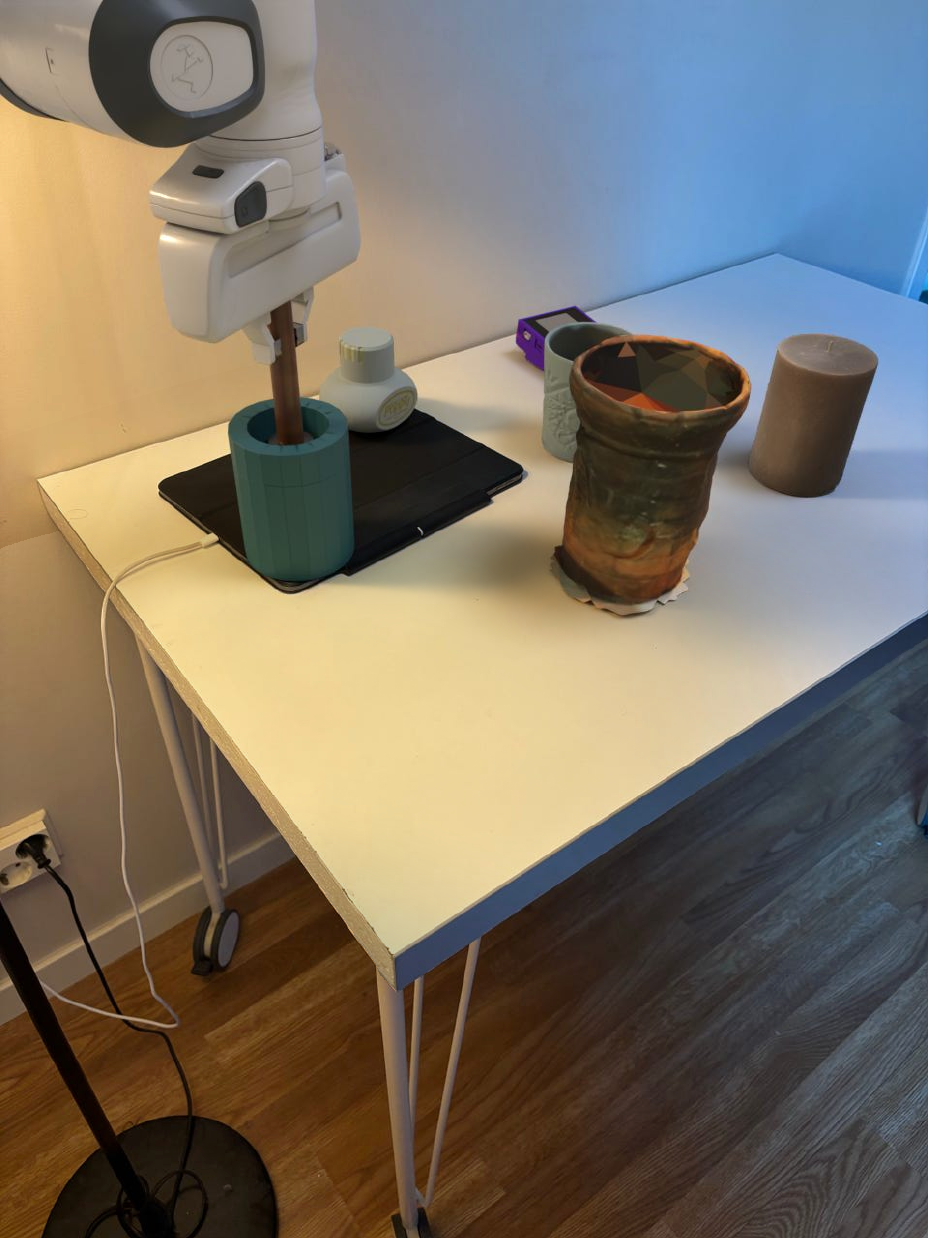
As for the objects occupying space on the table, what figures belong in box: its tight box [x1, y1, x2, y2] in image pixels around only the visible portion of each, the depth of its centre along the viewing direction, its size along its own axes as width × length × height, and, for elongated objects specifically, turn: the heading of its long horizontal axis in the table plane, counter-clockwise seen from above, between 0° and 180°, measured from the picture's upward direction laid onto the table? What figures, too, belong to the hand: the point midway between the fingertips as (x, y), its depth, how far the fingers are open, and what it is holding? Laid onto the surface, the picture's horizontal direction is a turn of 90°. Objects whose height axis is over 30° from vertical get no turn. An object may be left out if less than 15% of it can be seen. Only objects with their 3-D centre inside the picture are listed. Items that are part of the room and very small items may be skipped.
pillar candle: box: [747, 332, 879, 498], centre depth 97 cm, size 10×10×15 cm
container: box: [227, 396, 355, 582], centre depth 85 cm, size 10×10×13 cm
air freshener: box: [318, 325, 419, 434], centre depth 105 cm, size 11×8×10 cm
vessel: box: [548, 334, 752, 616], centre depth 82 cm, size 14×14×20 cm
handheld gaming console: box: [515, 305, 598, 372], centre depth 118 cm, size 9×5×15 cm
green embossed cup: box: [541, 321, 635, 464], centre depth 101 cm, size 10×10×12 cm
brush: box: [267, 300, 314, 446], centre depth 79 cm, size 4×4×18 cm
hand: (281, 352), depth 77 cm, fingers closed on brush, 2 cm apart
